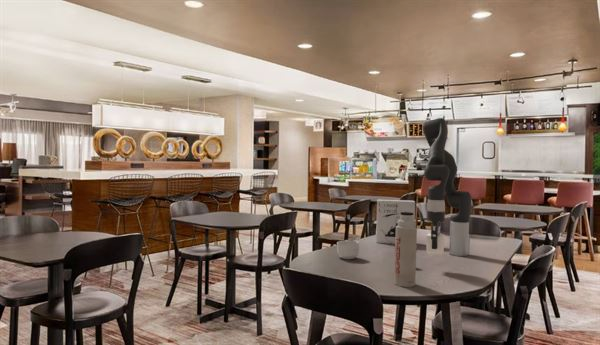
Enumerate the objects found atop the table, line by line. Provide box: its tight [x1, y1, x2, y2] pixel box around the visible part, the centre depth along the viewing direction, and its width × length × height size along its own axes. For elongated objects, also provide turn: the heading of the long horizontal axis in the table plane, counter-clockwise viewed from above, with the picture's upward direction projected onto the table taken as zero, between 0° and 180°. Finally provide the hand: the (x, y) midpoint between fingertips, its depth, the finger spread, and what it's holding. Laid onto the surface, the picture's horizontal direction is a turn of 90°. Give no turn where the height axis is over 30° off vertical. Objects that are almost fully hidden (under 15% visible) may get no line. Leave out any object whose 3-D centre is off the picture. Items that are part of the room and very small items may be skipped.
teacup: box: [336, 239, 360, 260], centre depth 223 cm, size 14×11×8 cm
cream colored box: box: [425, 232, 445, 256], centre depth 201 cm, size 7×7×8 cm
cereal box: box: [375, 199, 416, 245], centre depth 268 cm, size 22×8×25 cm, turn 81°
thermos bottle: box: [393, 212, 418, 288], centre depth 176 cm, size 8×8×28 cm
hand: (435, 247), depth 201 cm, fingers closed on cream colored box, 7 cm apart
